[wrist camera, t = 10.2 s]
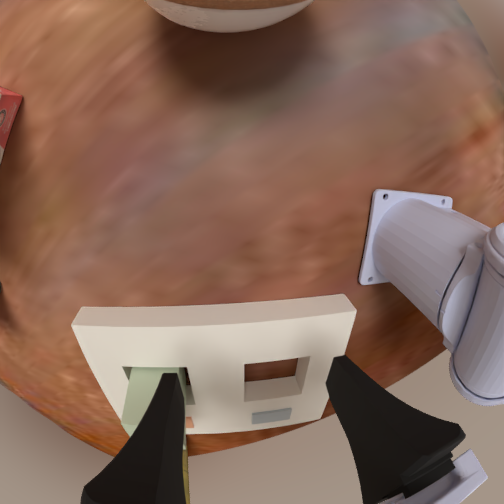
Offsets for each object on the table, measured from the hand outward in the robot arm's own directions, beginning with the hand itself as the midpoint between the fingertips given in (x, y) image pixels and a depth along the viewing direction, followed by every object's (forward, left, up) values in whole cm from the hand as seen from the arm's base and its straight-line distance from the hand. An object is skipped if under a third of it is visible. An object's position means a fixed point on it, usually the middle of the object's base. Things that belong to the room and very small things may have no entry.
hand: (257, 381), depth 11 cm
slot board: (+2, +10, -9) cm, 14 cm away
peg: (+7, +9, -9) cm, 15 cm away
